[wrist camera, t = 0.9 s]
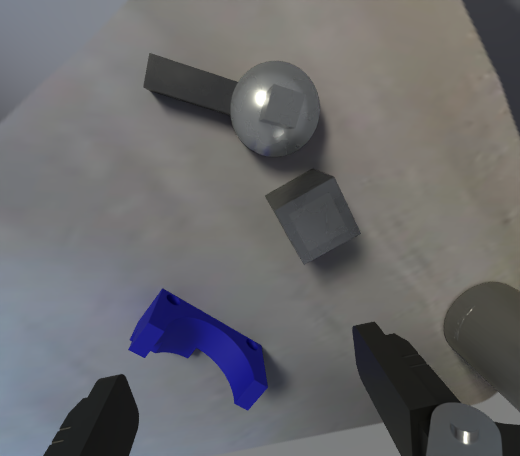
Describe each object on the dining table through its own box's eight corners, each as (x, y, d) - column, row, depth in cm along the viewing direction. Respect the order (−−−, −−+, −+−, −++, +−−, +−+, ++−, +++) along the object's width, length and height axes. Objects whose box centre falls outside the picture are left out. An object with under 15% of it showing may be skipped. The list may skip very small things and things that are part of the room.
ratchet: (322, 83, 27) (351, 67, 20) (297, 164, 28) (316, 172, 22) (161, 27, 24) (138, -10, 18) (144, 119, 26) (118, 114, 20)
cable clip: (138, 321, 31) (118, 362, 26) (163, 287, 31) (148, 322, 25) (236, 373, 34) (238, 421, 29) (261, 344, 34) (267, 387, 28)
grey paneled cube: (313, 168, 29) (334, 177, 23) (335, 214, 30) (360, 233, 24) (264, 195, 29) (274, 210, 23) (289, 240, 30) (303, 264, 25)
